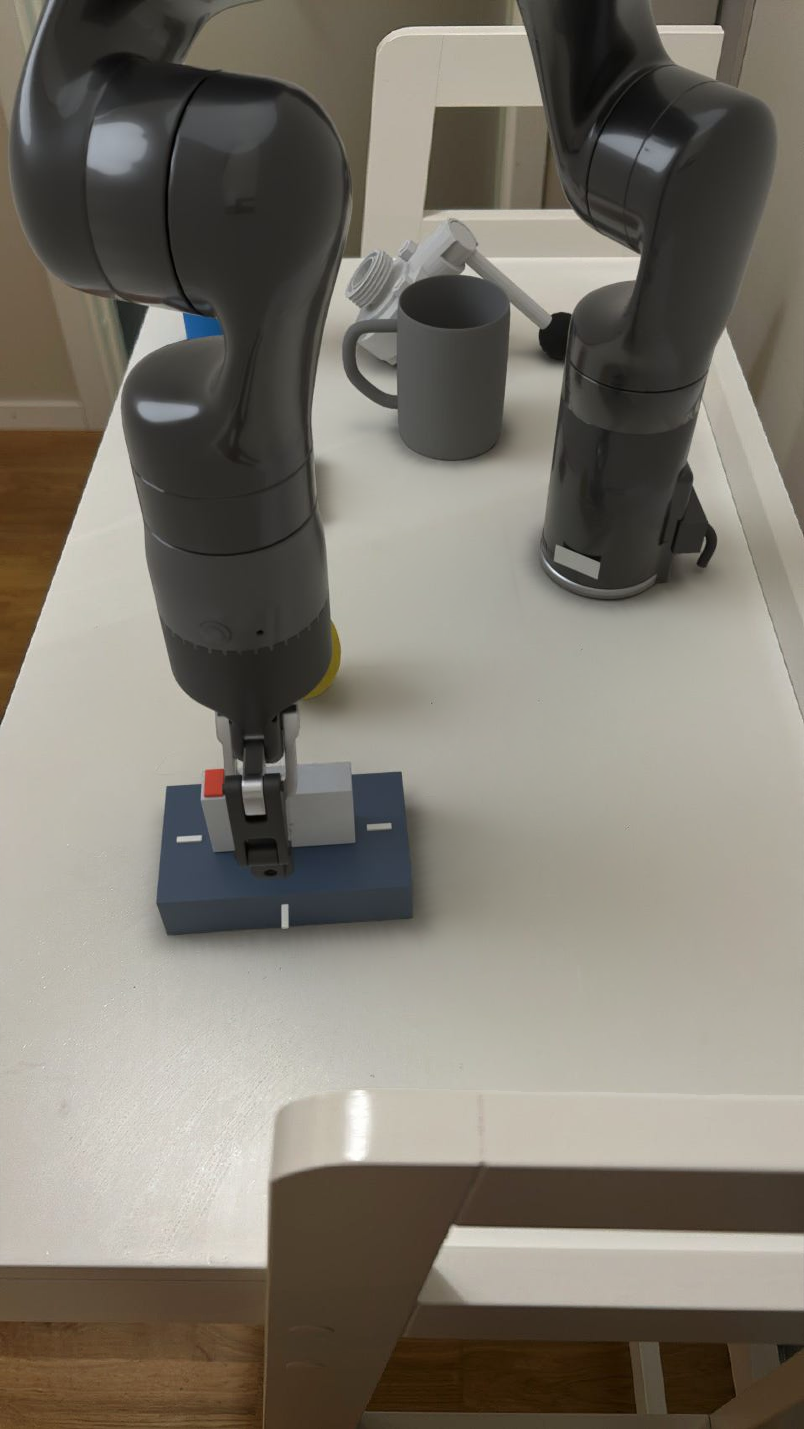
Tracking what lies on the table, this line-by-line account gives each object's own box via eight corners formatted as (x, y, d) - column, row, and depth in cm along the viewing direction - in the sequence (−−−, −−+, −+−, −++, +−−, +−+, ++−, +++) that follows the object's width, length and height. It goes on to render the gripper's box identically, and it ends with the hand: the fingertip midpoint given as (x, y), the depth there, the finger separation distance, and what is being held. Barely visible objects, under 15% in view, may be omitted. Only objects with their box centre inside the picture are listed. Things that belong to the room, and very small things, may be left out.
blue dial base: (399, 778, 67) (399, 742, 64) (415, 951, 59) (416, 918, 56) (178, 792, 66) (168, 756, 63) (164, 968, 58) (152, 936, 55)
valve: (480, 462, 104) (594, 368, 95) (321, 342, 95) (430, 224, 85) (483, 397, 111) (591, 303, 101) (334, 279, 101) (437, 162, 91)
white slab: (353, 814, 60) (350, 758, 57) (355, 843, 59) (352, 787, 55) (215, 823, 60) (201, 767, 56) (213, 852, 59) (199, 797, 55)
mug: (498, 402, 95) (508, 273, 85) (504, 462, 89) (515, 330, 79) (348, 402, 95) (341, 273, 86) (343, 462, 89) (336, 331, 80)
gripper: (332, 702, 41) (346, 914, 53) (325, 482, 50) (338, 705, 63) (139, 711, 41) (198, 923, 53) (167, 487, 50) (212, 711, 62)
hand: (274, 805), depth 58 cm, fingers open, 8 cm apart
